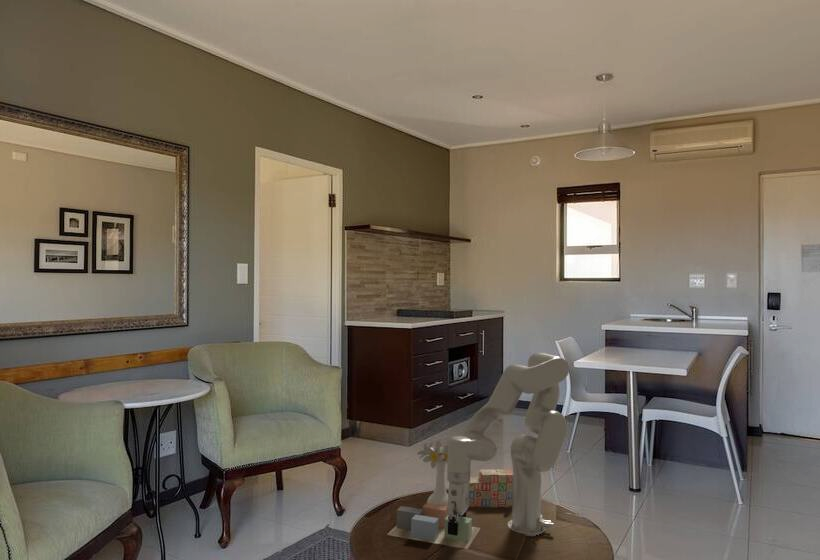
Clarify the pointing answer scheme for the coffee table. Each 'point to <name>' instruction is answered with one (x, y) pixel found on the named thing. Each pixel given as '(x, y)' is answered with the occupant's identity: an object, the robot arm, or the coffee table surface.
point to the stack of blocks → (491, 488)
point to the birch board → (439, 540)
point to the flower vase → (439, 460)
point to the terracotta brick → (436, 512)
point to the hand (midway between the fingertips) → (456, 528)
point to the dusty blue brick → (425, 528)
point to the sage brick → (460, 529)
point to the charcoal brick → (406, 516)
